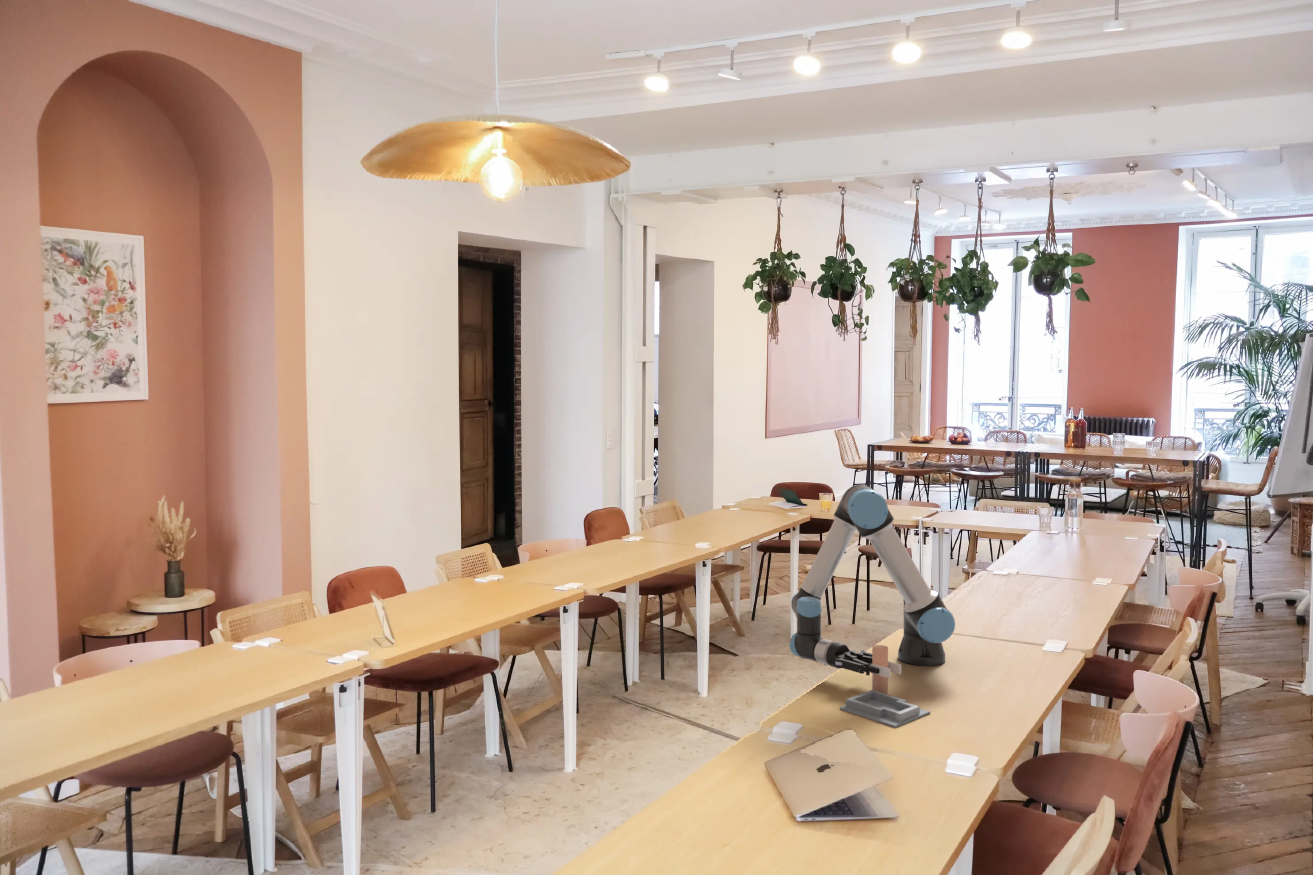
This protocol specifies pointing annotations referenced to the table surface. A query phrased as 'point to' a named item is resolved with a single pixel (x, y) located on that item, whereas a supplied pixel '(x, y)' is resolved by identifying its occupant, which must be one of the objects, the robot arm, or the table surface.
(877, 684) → the tall peach cylinder
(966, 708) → the table surface
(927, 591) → the robot arm
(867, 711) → the keyhole board
